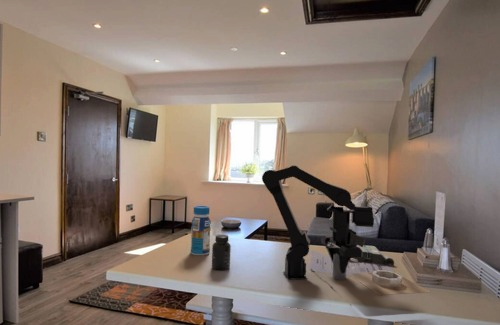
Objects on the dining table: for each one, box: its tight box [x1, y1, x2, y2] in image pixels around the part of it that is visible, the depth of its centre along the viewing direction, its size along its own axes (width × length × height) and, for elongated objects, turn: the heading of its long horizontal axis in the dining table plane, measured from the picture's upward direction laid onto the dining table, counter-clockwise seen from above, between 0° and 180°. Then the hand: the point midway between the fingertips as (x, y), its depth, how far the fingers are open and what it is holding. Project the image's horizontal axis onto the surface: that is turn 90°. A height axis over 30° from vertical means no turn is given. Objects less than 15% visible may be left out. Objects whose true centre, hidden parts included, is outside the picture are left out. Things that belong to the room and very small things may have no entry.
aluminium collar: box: [371, 269, 403, 288], centre depth 103 cm, size 9×9×2 cm
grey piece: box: [351, 244, 395, 267], centre depth 131 cm, size 16×20×5 cm
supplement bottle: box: [211, 234, 232, 272], centre depth 116 cm, size 7×7×12 cm
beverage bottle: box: [190, 205, 212, 256], centre depth 134 cm, size 8×8×20 cm
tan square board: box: [348, 272, 431, 296], centre depth 103 cm, size 18×18×1 cm
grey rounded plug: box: [332, 253, 347, 281], centre depth 106 cm, size 4×4×9 cm
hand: (339, 270), depth 106 cm, fingers closed on grey rounded plug, 4 cm apart
